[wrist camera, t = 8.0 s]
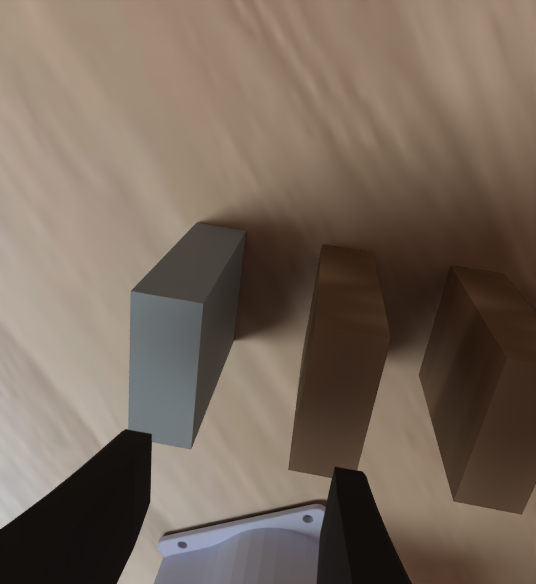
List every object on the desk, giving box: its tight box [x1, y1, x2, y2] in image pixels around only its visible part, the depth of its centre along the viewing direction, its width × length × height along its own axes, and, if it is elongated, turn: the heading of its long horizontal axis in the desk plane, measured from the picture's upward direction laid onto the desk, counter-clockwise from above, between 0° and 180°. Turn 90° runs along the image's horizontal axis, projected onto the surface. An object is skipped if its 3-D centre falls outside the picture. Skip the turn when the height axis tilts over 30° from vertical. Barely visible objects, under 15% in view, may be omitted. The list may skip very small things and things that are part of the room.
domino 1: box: [128, 223, 246, 449], centre depth 18 cm, size 2×5×7 cm, turn 173°
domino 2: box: [288, 245, 391, 478], centre depth 17 cm, size 2×5×7 cm, turn 173°
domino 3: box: [419, 265, 536, 514], centre depth 17 cm, size 2×5×7 cm, turn 173°
